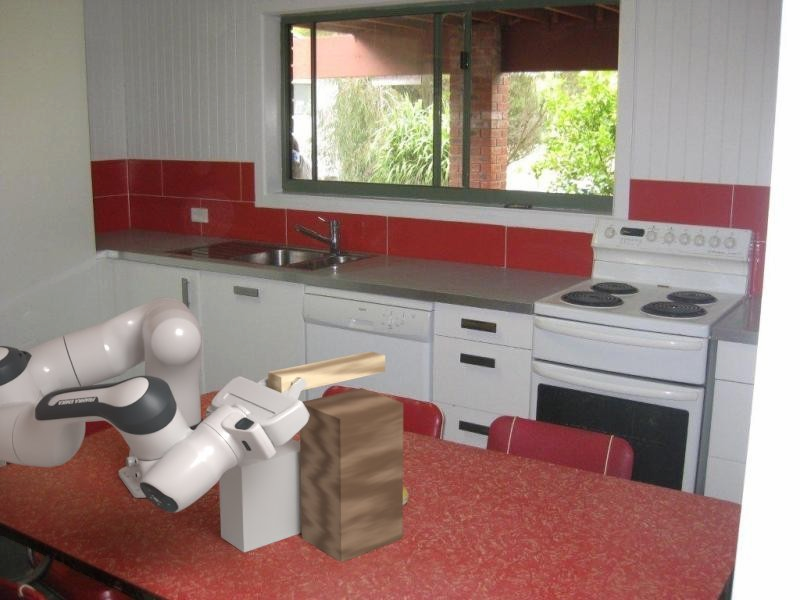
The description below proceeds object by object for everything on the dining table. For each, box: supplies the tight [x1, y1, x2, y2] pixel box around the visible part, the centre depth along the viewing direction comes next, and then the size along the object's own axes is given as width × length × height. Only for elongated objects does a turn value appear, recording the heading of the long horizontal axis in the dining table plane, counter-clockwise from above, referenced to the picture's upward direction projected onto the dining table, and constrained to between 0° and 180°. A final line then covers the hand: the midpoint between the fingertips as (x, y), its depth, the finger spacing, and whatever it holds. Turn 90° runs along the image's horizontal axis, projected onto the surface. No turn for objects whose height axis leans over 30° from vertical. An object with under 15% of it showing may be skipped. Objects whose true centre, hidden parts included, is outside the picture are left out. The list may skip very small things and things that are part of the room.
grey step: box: [218, 437, 302, 553], centre depth 170 cm, size 8×15×16 cm, turn 131°
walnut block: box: [299, 387, 404, 563], centre depth 167 cm, size 12×14×26 cm
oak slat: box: [267, 350, 386, 393], centre depth 160 cm, size 4×22×3 cm, turn 131°
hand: (293, 376), depth 155 cm, fingers closed on oak slat, 4 cm apart
